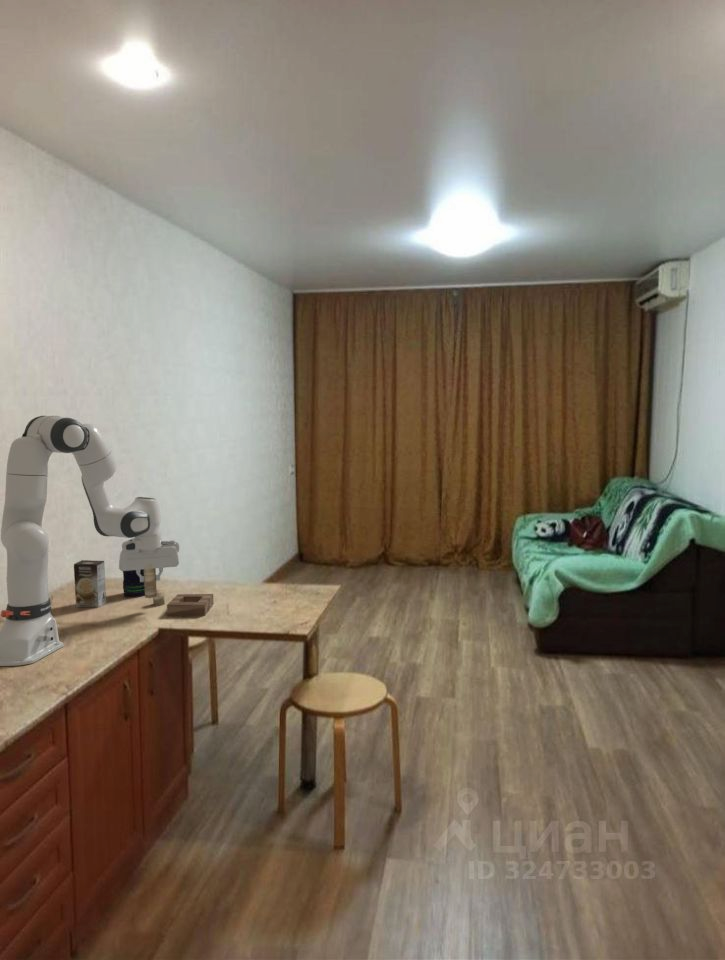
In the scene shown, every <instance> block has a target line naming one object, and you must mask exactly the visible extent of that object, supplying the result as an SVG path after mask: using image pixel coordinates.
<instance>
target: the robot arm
mask: <svg viewBox="0 0 725 960" xmlns="http://www.w3.org/2000/svg"><path fill="white" fill-rule="evenodd" d="M21 435H22V436H20V437H18V438H16V439H14V440H13V441H12V442H11V444H10V448H9V452H8V456H7V463H6V474H5V493H4V494H5V496H4V506H3V512H2V518H1V519H2V520H1V528H0V529H1V530H0V541H1V544H2V546H3V547H4V548H5V549H6V555H7V556H6V577H5V578H6V590H7V592H6V593H7V604H6V609H5V610H4V609H2V610H1V612H0V617H1V618H5V620H4V622H3V624H2V626H1V628H0V667H11V666H12V667H13V666H14V667H15V666H25V665H30V664H33V663H35V662H38V661H39V660H40V659H41V660H42V659H43V658H45V657H46V656H48V655H50V654H52V653H54V652H56V651H57V650H59V649H61V648H63V647H64V642H62V641H60V637H59V632H58V624H57V621H56V618H55V617H54V616H53V615H52V613H51V612H52V602H51V599H50V597H49V582H48V581H49V580H48V579H49V578H48V566H49V536H48V533H47V531H46V529H44V528H43V526H42V525H43V517H44V512H45V506H46V504H47V495H48V494H47V493H48V476H49V475H48V474H49V473H48V472H49V471H48V470H49V469H48V468H49V465H48V463H49V461H50V457H51V455H52V454H53V453H56V454H57V453H58V454H59V453H62V454H63V453H64V454H72V455H73V457H74V459H75V461H76V464H77V465H78V467H79V470H80V473H81V483H82V486H83V490H84V492H85V495H86V498H87V500H88V502H89V506H90V508H91V511H92V514H93V515H92V516H93V517H92V518H93V523H94V528H95V530H96V532H97V533H98V534H99V535H101V536H102V537H115V538H116V537H117V538H125V539H128V540H125V541H123V542H122V543H121V548H122V549H121V551H120V554H119V560H118V561H119V562H118V569H119V571H121V572H123V571H130V570H136V573H137V575H138V576H139V577H140V582H144V576H141V574H140V570H142V569H147V564H152V568H153V569H154V568H156V569H158V571H159V572H158V574H156V582H157V581H161V575H162V574H163V572H164V568H165V569H166V568H175V567H176V568H177V567H178V566H179V565H180V561H179V560H180V559H179V554H178V553H179V551H180V543H178V542H177V541H175V540H163V541H162V531H161V528H160V525H161V512H160V511H161V510H160V505H159V502H158V500H157V499H156V498H154V497H144V496H137V497H135V499H134V500H133V502H132V503H131V504H130V505H128V506H126V507H125V508H117V507H115V506H114V505H112V504H111V502H110V500H109V497H108V494H107V491H106V489H105V488H106V487H105V482H106V481H108V480H110V479H111V478H113V476H114V474H115V472H116V470H117V467H118V466H117V461H116V459H115V455H114V453H113V452H112V450H111V447H110V445H109V443H108V441H107V440H106V438H105V437H104V435H103V434H102V432H101V431H100V430H99V428H98V427H97V426H95V425H94V424H92V423H81V422H80V421H78V420H76V419H74V418H71V417H64V416H60V415H40V416H36V417H34V418H32V419H31V420H30V421H29V422H28V423H27V425H26V426H25V429H24V432H23V433H22V434H21Z"/></svg>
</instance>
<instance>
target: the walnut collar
mask: <svg viewBox="0 0 725 960" xmlns="http://www.w3.org/2000/svg"><path fill="white" fill-rule="evenodd" d="M213 604H215V602H214V593H193V594H192V593H183V594H181V593H177V594H176V595H175V596H174V597H173V598H172V599H171V600H170V601H169V602H168V603H167V604H166V611H167V612H166V613H167V617H192V616H193V617H200V616H201V615H202V616H206V615H207V614H208V612H209V611H210V610H211V609H212V607H213V606H214V605H213ZM212 605H213V606H212ZM210 608H211V609H210ZM209 609H210V610H209ZM206 613H207V614H206ZM202 616H201V617H202Z"/></svg>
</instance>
